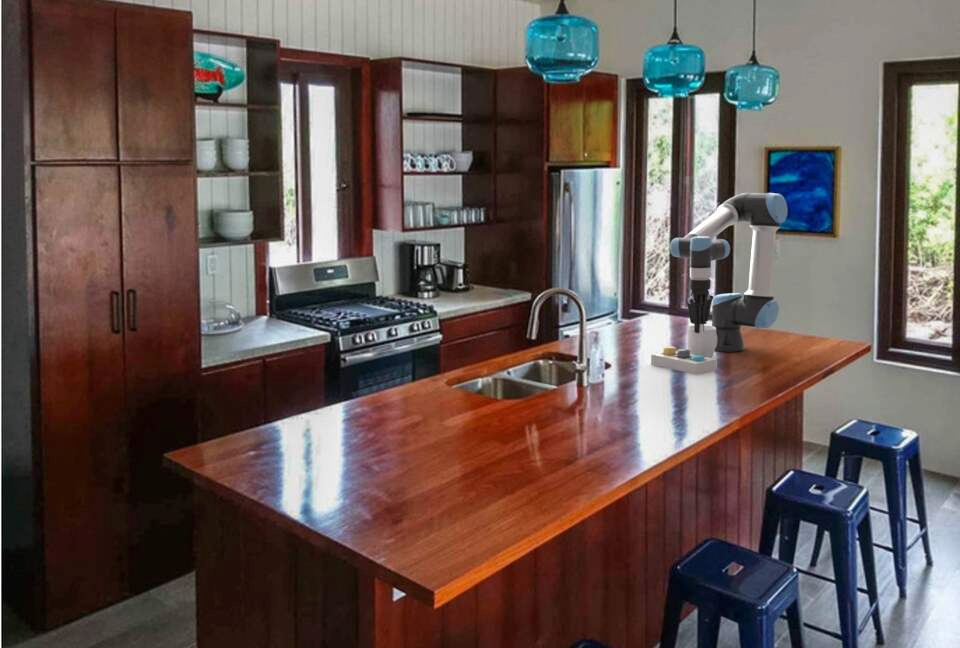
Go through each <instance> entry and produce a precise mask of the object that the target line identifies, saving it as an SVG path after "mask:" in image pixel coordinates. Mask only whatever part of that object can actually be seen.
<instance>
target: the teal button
mask: <svg viewBox="0 0 960 648" xmlns="http://www.w3.org/2000/svg"><path fill="white" fill-rule="evenodd" d="M691 360H692V361H696V362H702V361H705V356H702V355H693V356H692V358H691Z"/></svg>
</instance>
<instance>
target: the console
mask: <svg viewBox="0 0 960 648" xmlns="http://www.w3.org/2000/svg"><path fill="white" fill-rule="evenodd" d="M650 355H651V356H650V365H651V366H657V367H661V368H665V369H670V370H675V371H679V372H683V373H688V374H692V375H699V374H702V373H708V372H713V371H717V368H718V359H717V358H712V357H711V358H708V357H705V361H702V362H696V361H692V360H691V358H692V356H693V354H690V358H687V359H682V358H677V350H676V355H673V356H668V355H663V351H661V352H656V353H652V354H650Z"/></svg>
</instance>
